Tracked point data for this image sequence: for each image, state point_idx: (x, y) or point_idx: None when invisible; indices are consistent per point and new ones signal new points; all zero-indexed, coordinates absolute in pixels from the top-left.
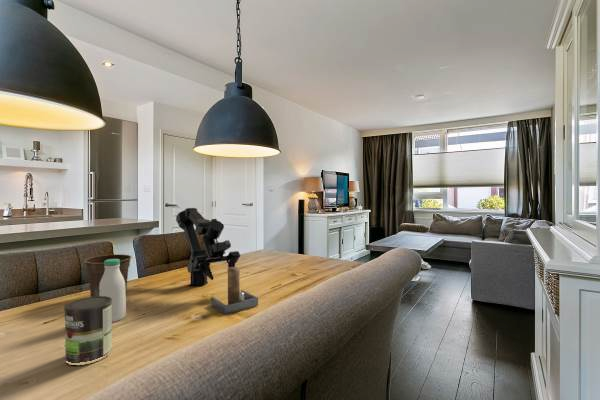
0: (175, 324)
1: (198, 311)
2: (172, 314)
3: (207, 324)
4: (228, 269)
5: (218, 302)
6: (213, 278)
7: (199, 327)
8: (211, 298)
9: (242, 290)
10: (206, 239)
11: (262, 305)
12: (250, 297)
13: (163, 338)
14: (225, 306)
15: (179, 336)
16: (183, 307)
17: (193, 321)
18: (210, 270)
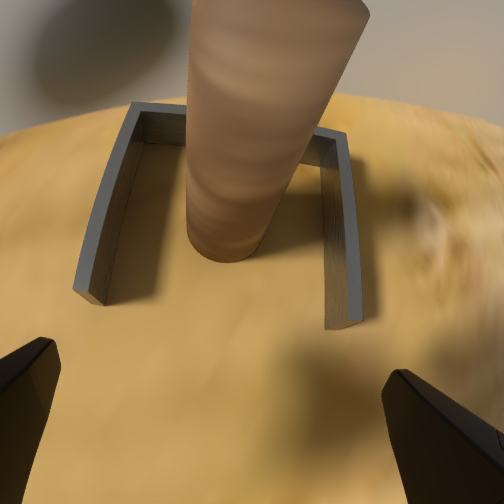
0: (487, 228)
1: (415, 286)
2: (491, 330)
3: (409, 145)
4: (365, 7)
5: (353, 200)
6: (394, 371)
7: (432, 149)
8: (360, 307)
9: (78, 282)
10: None
11: (121, 124)
12: (126, 163)
13: (500, 174)
14: (341, 134)
15: (473, 151)
16: (448, 393)
17: (445, 202)
18: (478, 439)
